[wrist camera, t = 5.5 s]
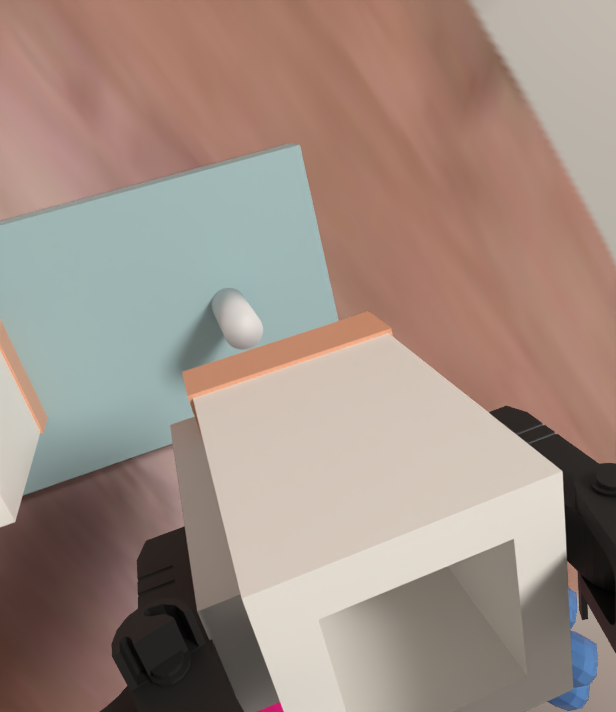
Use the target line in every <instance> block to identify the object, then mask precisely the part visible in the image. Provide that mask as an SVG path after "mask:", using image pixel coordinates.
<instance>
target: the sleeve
mask: <svg viewBox="0 0 616 712" xmlns="http://www.w3.org/2000/svg"><path fill="white" fill-rule="evenodd" d="M182 375H183V379H184V383H185V388H186V392H187V396H188V399H189V402H190V405H191V408H192V411H193V413H194V416H195V419H196V422H197V425H198V427H199V430H200V433H201V436H202V438H203V442H204V446H205V450H206V454H207V459H208V463H209V467H210V471H211V475H212V479H213V483H214V487H215V491H216V495H217V500H218V504H219V508H220V512H221V516H222V520H223V524H224V528H225V532H226V536H227V540H228V545H229V549H230V553H231V557H232V561H233V565H234V569H235V573H236V577H237V581H238V586H239V590H240V594H241V598H242V601H243V604H244V606H245V609H246V612H247V614H248V617H249V620H250V622H251V625H252V628H253V630H254V633H255V636H256V638H257V641H258V644H259V646H260V649H261V652H262V654H263V657H264V660H265V663H266V665H267V668H268V671H269V673H270V676H271V679H272V681H273V684H274V687H275V689H276V692H277V695H278V697H279V700H280V703H281V705H282V708H283V711H284V712H526V711H528V710H530V709H532V708H534V707H537V706H539V705H541V704H543V703H545V702H547V701H549V700H552V699H554V698H556V697H558V696H560V695H562V694H564V693H566V692H569V691H571V690H573V672H572V652H571V632H570V612H569V592H568V572H567V552H566V532H565V512H564V492H563V472H562V470H560V469H559V468H558V467H557V466H555V465H554V464H553V463H552V462H550V461H549V460H548V459H546V458H545V457H544V456H543V455H541V454H540V453H539V452H538V451H536V450H535V449H534V448H533V447H531V446H530V445H529V444H528V443H526V442H525V441H524V440H522V439H521V438H520V437H519V436H517V435H516V434H515V433H514V432H512V431H511V430H510V429H509V428H507V427H506V426H505V425H504V424H502V423H501V422H500V421H498V420H497V419H496V418H495V417H493V416H492V415H491V414H490V413H488V412H487V411H486V410H485V409H483V408H482V407H481V406H480V405H478V404H477V403H476V402H475V401H473V400H472V399H471V398H469V397H468V396H467V395H466V394H464V393H463V392H462V391H461V390H459V389H458V388H457V387H456V386H454V385H453V384H452V383H451V382H449V381H448V380H447V379H445V378H444V377H443V376H442V375H440V374H439V373H438V372H437V371H435V370H434V369H433V368H432V367H430V366H429V365H428V364H427V363H425V362H424V361H423V360H421V359H420V358H419V357H418V356H416V355H415V354H414V353H413V352H411V351H410V350H409V349H408V348H406V347H405V346H404V345H403V344H401V343H400V342H399V341H397V340H396V339H395V338H394V337H393V335H392V329H391V328H390V327H389V326H388V325H386V324H385V323H384V322H382V321H381V320H380V319H378V318H377V317H376V316H374V315H373V314H372V313H371V312H369V311H368V312H365V313H362V314H359V315H356V316H353V317H350V318H346V319H343V320H340V321H337V322H334V323H331V324H328V325H325V326H322V327H319V328H316V329H313V330H309V331H306V332H303V333H300V334H297V335H294V336H291V337H288V338H285V339H282V340H279V341H276V342H272V343H269V344H266V345H263V346H260V347H257V348H254V349H251V350H248V351H245V352H242V353H239V354H235V355H232V356H229V357H226V358H223V359H220V360H217V361H214V362H211V363H208V364H205V365H202V366H198V367H195V368H192V369H189V370H186V371H183V372H182Z"/></svg>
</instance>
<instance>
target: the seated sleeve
mask: <svg viewBox="0 0 616 712" xmlns="http://www.w3.org/2000/svg"><path fill="white" fill-rule="evenodd" d="M47 419H48V417H47V415H46V413H45V411H44V409H43V407H42V405H41V402H40V400H39V398H38V396H37V394H36V392H35V390H34V388H33V386H32V384H31V382H30V380H29V378H28V375H27V373H26V371H25V369H24V367H23V365H22V363H21V361H20V359H19V357H18V355H17V353H16V351H15V348H14V346H13V344H12V342H11V340H10V338H9V336H8V334H7V332H6V330H5V328H4V326H3V324H2V322H1V319H0V527H2V526H5V525H8V524H11V523H14V522H15V521H16V517H17V514H18V510H19V507H20V503H21V500H22V496H23V492H24V489H25V485H26V482H27V478H28V475H29V471H30V468H31V464H32V460H33V457H34V453H35V450H36V446H37V443H38V439H39V435H40V434H42V433H44V430H45V427H46V423H47Z"/></svg>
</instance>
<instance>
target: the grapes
mask: <svg viewBox="0 0 616 712" xmlns="http://www.w3.org/2000/svg"><path fill="white" fill-rule="evenodd" d="M568 592H569V612H570V629H571V628H572V626H573V625H574V623H575V620H576V613H577V597H576V592H574V591H573V590H571V589H570V588H568ZM570 632H571V652H572V672H573V690H571V691H569V692H566V693H564V694H562V695H560V696H558V697H556V698H554V699H552V700H549V701H547V702H549V703H551V704H552V705H554V706H556V707H559V708H561V709H564V710H567V711H570V710H576V709H580V708H583V706H584V705H585V704H586V702H587V701H588V698H589V689H590V684H591V682H592V681H593V680H594V678H595V677H596V675H597V666H598V656H597V646H596V643H594V642H593V641H591V640H589V639H588V638H586V637H584V636H582V635H580V634H578V633H576V632H574V631H570Z"/></svg>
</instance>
